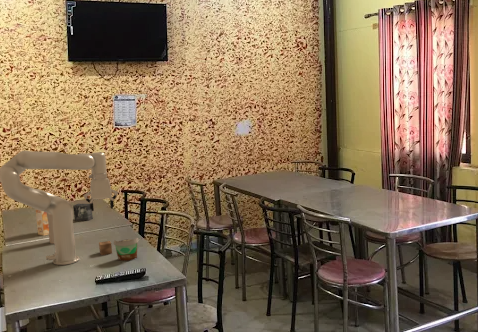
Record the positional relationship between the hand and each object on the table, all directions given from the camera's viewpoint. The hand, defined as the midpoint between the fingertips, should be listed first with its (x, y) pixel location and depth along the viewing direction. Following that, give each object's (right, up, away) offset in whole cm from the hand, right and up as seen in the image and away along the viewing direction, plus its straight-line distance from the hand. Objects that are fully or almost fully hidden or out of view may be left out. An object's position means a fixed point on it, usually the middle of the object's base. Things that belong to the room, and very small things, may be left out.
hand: (102, 209), depth 275 cm
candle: (-31, -21, +29) cm, 47 cm away
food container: (+15, -24, -11) cm, 31 cm away
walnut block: (+1, -23, +3) cm, 23 cm away
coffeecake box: (-45, -19, +54) cm, 73 cm away
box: (-34, -14, +85) cm, 93 cm away
